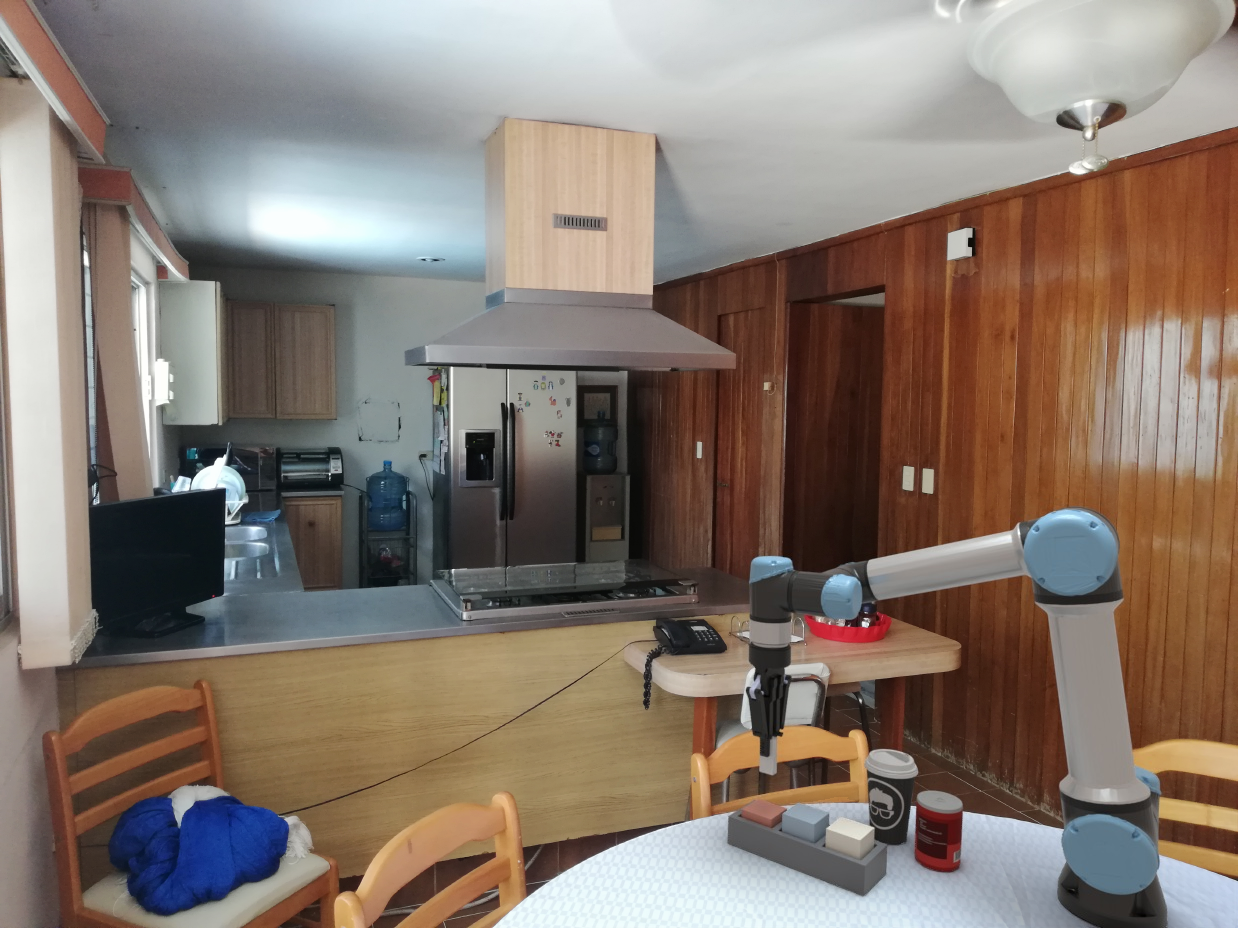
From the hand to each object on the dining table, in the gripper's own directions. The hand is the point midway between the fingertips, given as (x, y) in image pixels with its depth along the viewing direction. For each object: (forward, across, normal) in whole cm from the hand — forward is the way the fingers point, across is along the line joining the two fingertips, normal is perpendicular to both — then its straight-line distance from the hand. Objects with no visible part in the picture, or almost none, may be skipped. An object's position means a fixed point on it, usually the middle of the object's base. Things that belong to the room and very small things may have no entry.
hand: (768, 771), depth 151 cm
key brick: (+11, 0, -1) cm, 11 cm away
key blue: (+9, 0, +8) cm, 12 cm away
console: (+13, 0, +8) cm, 15 cm away
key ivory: (+9, 0, +16) cm, 18 cm away
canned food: (+14, -15, +26) cm, 33 cm away
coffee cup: (+14, -18, +16) cm, 27 cm away
